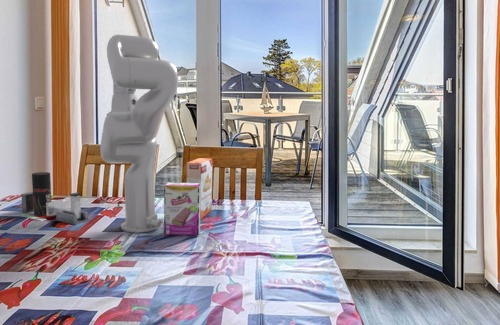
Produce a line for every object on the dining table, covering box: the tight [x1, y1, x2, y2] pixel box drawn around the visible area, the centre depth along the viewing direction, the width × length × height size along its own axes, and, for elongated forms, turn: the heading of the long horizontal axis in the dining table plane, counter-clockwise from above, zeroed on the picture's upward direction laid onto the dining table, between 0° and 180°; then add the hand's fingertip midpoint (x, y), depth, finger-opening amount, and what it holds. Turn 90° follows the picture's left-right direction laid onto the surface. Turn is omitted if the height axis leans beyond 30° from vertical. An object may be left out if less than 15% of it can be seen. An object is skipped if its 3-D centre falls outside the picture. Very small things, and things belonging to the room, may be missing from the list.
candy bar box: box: [163, 182, 201, 237], centre depth 133 cm, size 11×5×16 cm, turn 92°
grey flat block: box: [20, 191, 34, 214], centre depth 156 cm, size 2×6×7 cm, turn 152°
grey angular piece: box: [46, 192, 82, 219], centre depth 147 cm, size 13×6×9 cm, turn 62°
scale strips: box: [31, 216, 48, 222], centre depth 151 cm, size 6×13×1 cm, turn 152°
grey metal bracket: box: [55, 210, 92, 226], centre depth 146 cm, size 10×6×3 cm, turn 62°
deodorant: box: [31, 171, 52, 217], centre depth 153 cm, size 6×6×15 cm
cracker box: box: [186, 157, 213, 221], centre depth 155 cm, size 14×6×21 cm, turn 168°
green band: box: [20, 213, 36, 220], centre depth 154 cm, size 6×13×1 cm, turn 152°
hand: (124, 137), depth 157 cm, fingers open, 9 cm apart
